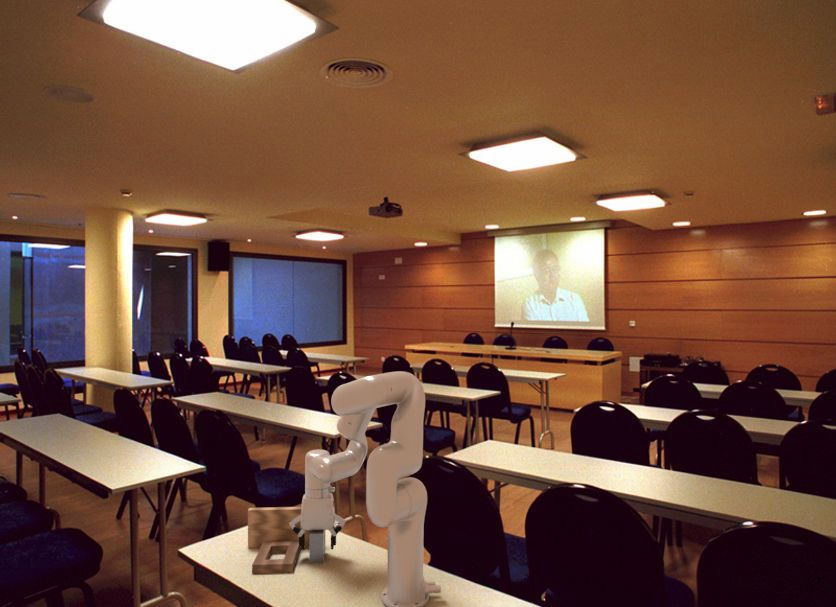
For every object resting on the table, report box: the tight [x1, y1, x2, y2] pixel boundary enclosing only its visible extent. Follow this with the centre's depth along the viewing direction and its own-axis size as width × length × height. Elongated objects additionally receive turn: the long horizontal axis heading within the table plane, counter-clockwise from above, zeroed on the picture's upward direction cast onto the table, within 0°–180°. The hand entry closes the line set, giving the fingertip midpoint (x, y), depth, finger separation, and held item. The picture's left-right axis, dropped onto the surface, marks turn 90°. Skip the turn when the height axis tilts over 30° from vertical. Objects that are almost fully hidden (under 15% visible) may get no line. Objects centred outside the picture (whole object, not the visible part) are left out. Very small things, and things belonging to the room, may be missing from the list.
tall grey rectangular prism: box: [308, 530, 326, 565], centre depth 166 cm, size 4×7×9 cm, turn 4°
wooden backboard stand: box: [247, 506, 311, 575], centre depth 166 cm, size 22×18×12 cm
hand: (317, 547), depth 166 cm, fingers open, 8 cm apart
